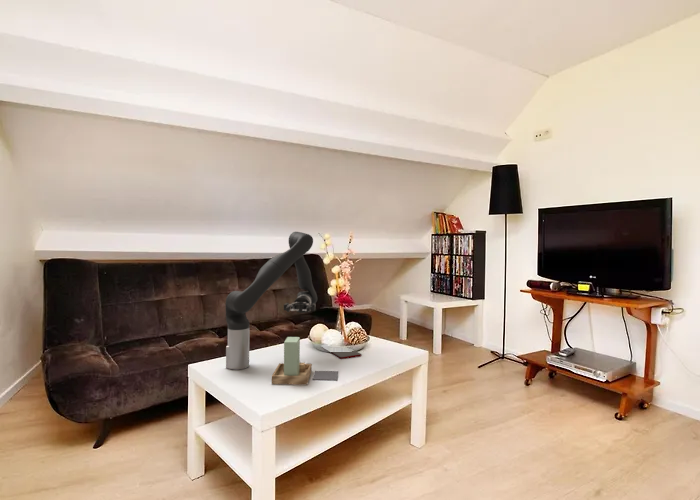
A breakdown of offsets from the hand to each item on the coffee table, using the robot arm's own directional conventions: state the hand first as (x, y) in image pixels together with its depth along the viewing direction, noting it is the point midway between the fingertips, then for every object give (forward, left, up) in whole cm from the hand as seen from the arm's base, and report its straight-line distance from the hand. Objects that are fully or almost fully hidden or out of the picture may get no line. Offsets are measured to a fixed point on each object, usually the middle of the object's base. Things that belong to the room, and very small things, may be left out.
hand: (297, 309), depth 168 cm
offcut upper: (+1, -8, -23) cm, 24 cm away
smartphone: (+18, +26, -26) cm, 41 cm away
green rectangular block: (0, -14, -24) cm, 28 cm away
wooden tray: (0, -12, -26) cm, 28 cm away
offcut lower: (0, -8, -24) cm, 26 cm away
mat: (+14, -9, -26) cm, 31 cm away
